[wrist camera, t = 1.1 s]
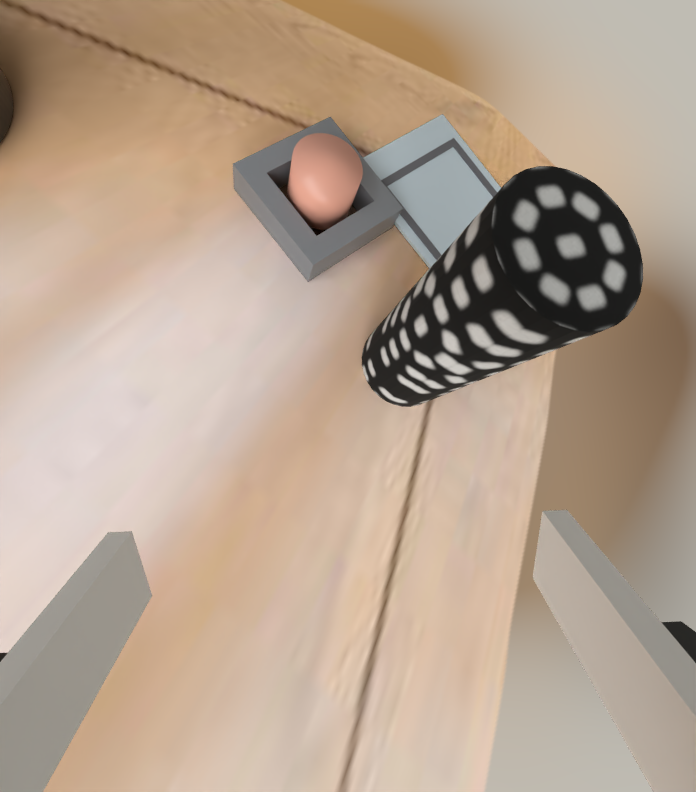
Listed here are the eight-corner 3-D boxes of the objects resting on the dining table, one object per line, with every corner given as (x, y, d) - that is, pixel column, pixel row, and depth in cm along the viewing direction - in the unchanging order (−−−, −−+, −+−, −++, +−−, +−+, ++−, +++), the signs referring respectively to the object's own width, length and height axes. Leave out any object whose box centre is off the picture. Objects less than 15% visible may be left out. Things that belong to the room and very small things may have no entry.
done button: (273, 189, 36) (276, 150, 31) (323, 162, 37) (333, 122, 33) (314, 240, 36) (323, 208, 31) (361, 211, 38) (376, 177, 33)
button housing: (233, 188, 36) (232, 164, 33) (324, 142, 39) (330, 116, 37) (307, 281, 36) (313, 265, 33) (391, 227, 39) (403, 208, 37)
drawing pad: (349, 167, 40) (350, 163, 39) (441, 117, 44) (443, 113, 43) (459, 305, 40) (461, 303, 39) (539, 241, 44) (542, 239, 44)
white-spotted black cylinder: (427, 314, 39) (603, 159, 20) (454, 393, 38) (667, 311, 19) (350, 331, 36) (465, 174, 17) (377, 417, 35) (532, 350, 16)
